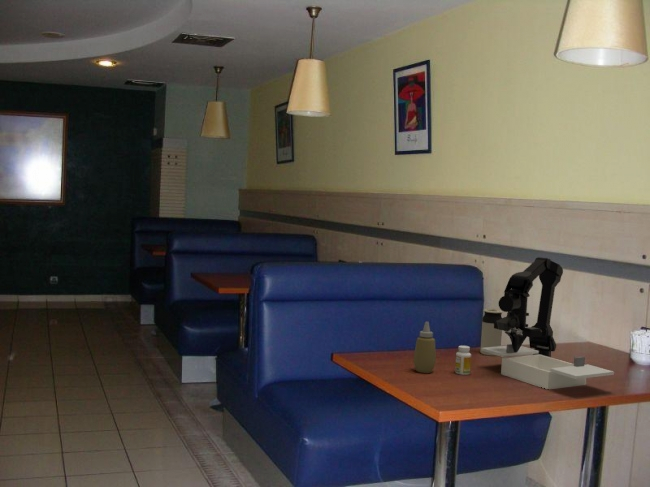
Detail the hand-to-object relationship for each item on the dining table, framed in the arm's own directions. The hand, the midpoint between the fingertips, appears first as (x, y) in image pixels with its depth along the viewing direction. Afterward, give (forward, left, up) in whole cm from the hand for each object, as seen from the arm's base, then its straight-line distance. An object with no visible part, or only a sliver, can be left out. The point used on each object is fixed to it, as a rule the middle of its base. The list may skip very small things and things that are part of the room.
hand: (515, 352), depth 268 cm
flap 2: (-4, +27, -2) cm, 27 cm away
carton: (-4, +10, -8) cm, 13 cm away
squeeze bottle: (+31, -14, -8) cm, 35 cm away
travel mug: (-15, -29, -8) cm, 34 cm away
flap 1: (-4, -7, -2) cm, 8 cm away
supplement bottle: (+19, -7, -8) cm, 21 cm away
